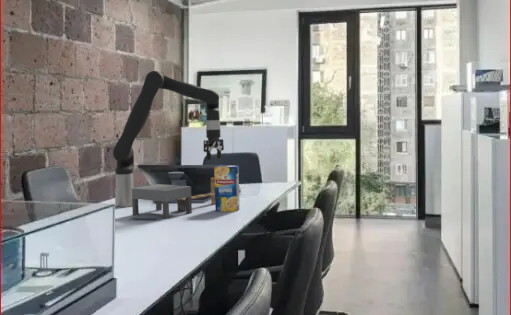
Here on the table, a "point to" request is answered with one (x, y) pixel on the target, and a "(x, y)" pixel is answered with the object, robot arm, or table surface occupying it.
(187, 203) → the charcoal table
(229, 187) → the blue yellow food box
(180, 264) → the table surface
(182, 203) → the oak rake
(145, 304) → the table surface
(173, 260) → the table surface
